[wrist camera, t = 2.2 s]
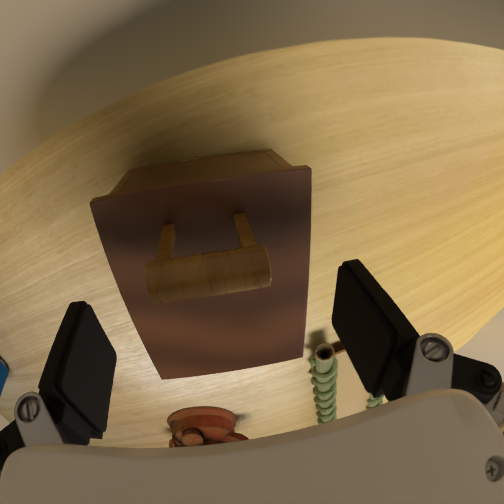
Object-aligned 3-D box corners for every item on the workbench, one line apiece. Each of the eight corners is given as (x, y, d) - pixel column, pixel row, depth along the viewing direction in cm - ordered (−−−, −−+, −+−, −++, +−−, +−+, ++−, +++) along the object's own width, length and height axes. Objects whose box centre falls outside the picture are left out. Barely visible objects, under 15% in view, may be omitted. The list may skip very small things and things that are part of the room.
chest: (127, 170, 23) (96, 209, 15) (271, 149, 24) (306, 177, 17) (165, 308, 31) (162, 372, 23) (277, 290, 32) (300, 350, 25)
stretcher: (300, 334, 37) (312, 363, 33) (394, 298, 37) (412, 321, 33) (317, 432, 59) (323, 449, 55) (372, 411, 59) (379, 427, 55)
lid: (93, 197, 15) (46, 258, 9) (307, 164, 16) (363, 208, 11) (162, 372, 23) (161, 437, 18) (300, 350, 25) (324, 411, 19)
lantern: (233, 396, 42) (270, 570, 17) (255, 423, 49) (289, 559, 24) (144, 415, 43) (153, 570, 17) (178, 439, 50) (194, 566, 24)
